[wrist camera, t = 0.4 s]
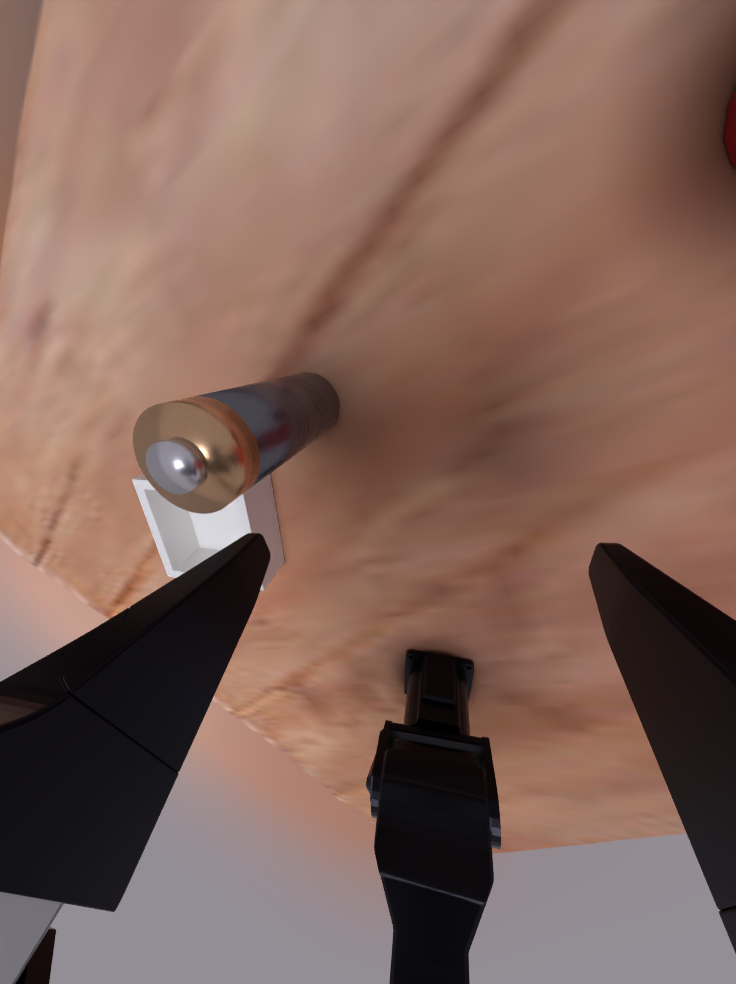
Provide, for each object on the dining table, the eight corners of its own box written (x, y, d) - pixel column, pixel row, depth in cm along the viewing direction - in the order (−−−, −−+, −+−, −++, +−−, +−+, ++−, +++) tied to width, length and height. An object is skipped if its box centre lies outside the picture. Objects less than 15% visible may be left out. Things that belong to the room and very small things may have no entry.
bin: (284, 561, 30) (263, 590, 27) (198, 550, 32) (168, 576, 29) (269, 468, 26) (241, 487, 23) (171, 461, 28) (132, 479, 24)
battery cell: (340, 435, 23) (237, 527, 12) (286, 433, 24) (140, 517, 13) (337, 372, 22) (209, 407, 10) (278, 372, 22) (97, 405, 11)
